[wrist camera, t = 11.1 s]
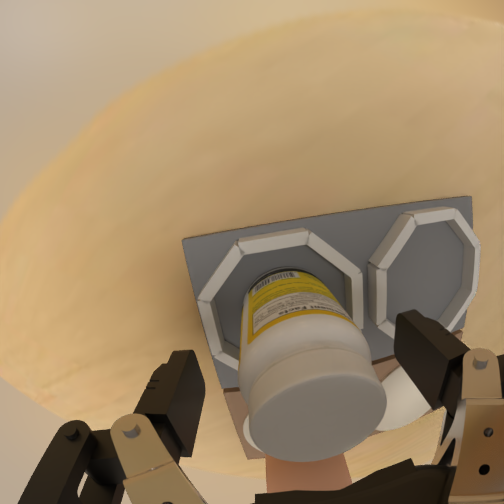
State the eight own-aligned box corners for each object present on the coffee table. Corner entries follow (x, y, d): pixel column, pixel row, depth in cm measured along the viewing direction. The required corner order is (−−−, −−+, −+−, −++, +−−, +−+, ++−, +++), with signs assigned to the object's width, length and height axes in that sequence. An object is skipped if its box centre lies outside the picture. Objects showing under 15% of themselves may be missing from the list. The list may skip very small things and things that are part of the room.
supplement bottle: (302, 355, 15) (335, 474, 7) (227, 326, 14) (208, 452, 6) (345, 286, 14) (428, 380, 6) (267, 248, 14) (289, 335, 5)
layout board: (466, 195, 13) (570, 212, 5) (438, 404, 17) (481, 464, 9) (183, 238, 14) (96, 307, 5) (247, 455, 18) (246, 540, 9)
